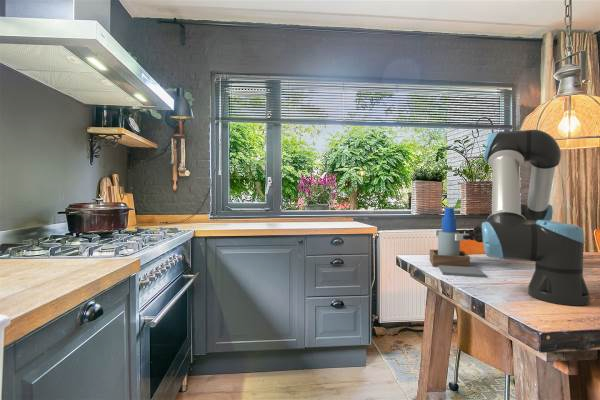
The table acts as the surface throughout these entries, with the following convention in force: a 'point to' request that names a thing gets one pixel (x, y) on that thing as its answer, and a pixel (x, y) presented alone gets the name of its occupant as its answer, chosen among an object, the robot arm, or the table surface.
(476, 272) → the rubber mat
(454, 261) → the walnut collar
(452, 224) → the spray bottle
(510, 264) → the table surface
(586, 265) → the table surface
